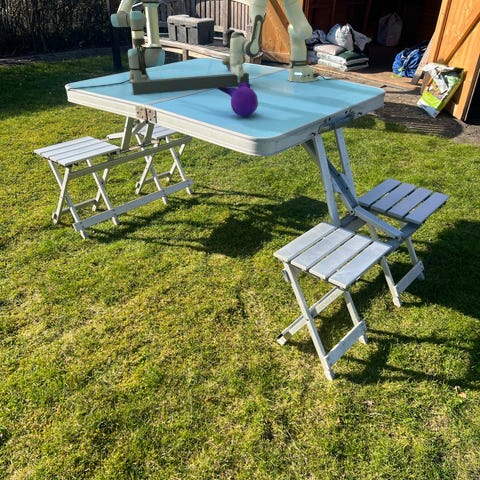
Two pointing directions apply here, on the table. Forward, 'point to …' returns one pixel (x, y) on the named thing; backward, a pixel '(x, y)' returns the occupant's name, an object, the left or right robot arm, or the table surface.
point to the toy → (242, 99)
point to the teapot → (227, 63)
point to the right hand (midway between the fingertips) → (237, 81)
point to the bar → (187, 83)
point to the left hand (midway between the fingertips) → (142, 73)
